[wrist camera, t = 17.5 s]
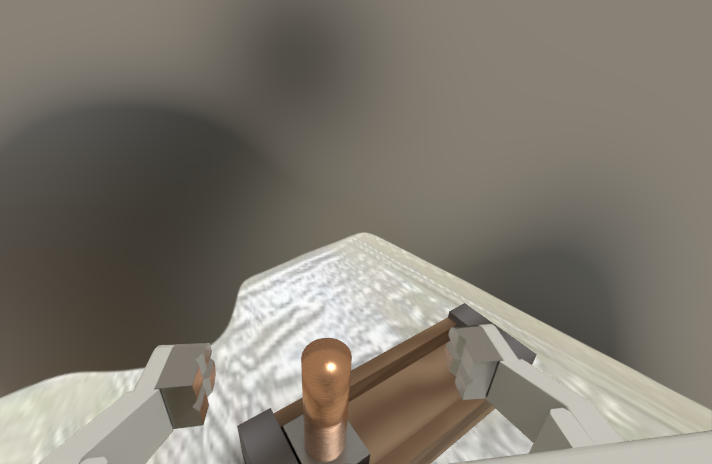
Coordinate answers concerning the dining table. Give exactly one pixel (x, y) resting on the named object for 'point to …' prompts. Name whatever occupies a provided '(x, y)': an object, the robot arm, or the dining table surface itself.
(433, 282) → the dining table surface
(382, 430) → the track
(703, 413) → the dining table surface
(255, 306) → the dining table surface
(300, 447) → the slider
